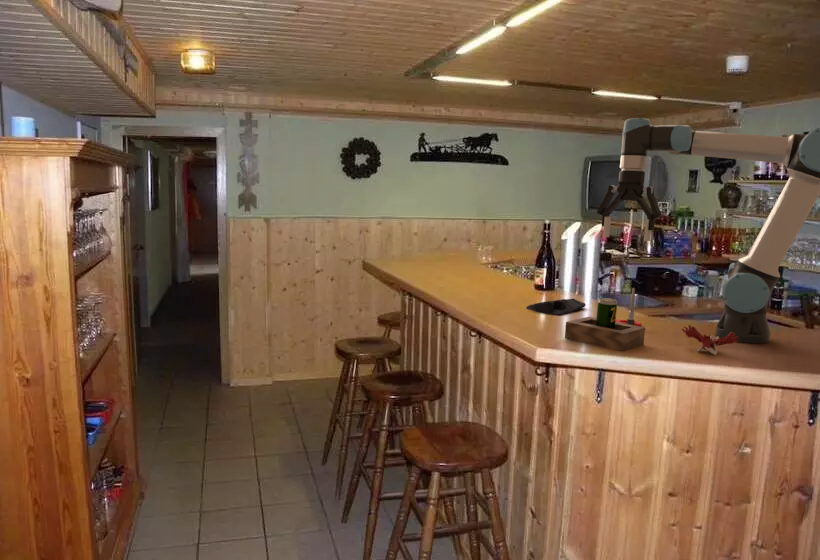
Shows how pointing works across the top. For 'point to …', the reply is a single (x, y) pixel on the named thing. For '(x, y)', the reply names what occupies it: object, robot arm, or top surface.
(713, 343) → the figurine
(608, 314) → the beer can
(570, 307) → the dark slate chunk
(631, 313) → the grey and red post
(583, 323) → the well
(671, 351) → the top surface
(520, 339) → the top surface
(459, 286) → the top surface
